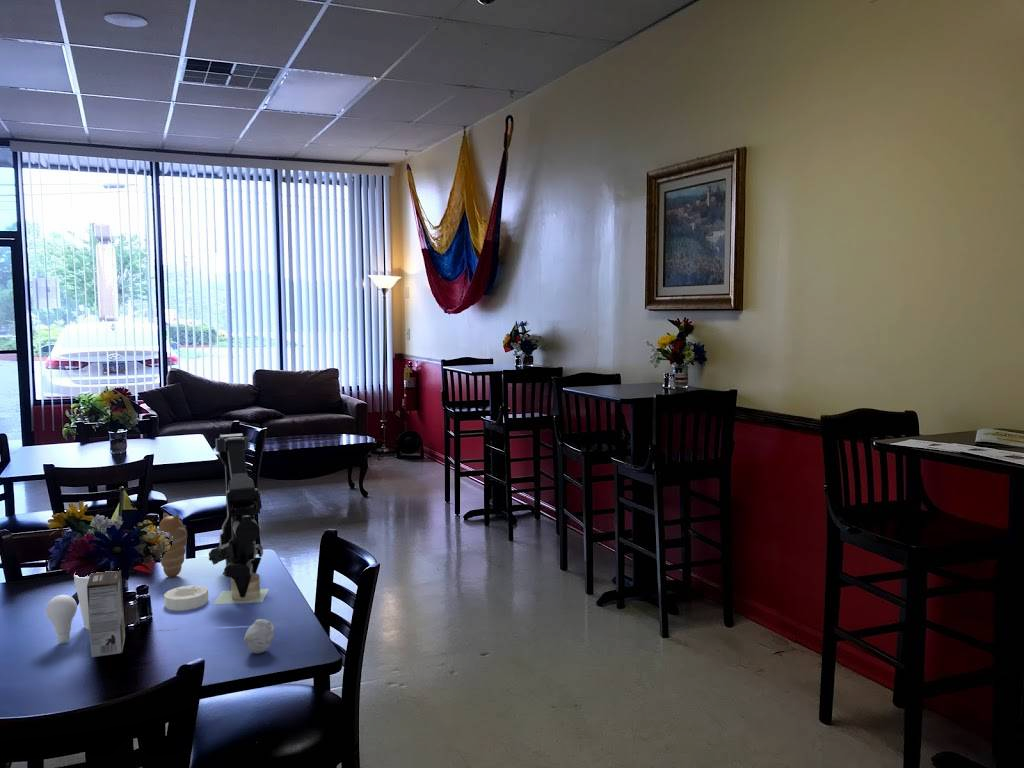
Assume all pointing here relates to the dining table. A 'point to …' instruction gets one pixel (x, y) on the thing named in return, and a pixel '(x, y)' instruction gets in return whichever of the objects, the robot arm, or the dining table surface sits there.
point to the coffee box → (105, 613)
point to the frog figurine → (259, 636)
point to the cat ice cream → (173, 545)
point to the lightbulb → (61, 615)
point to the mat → (227, 599)
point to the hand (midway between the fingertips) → (245, 592)
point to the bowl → (186, 597)
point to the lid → (251, 592)
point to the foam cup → (83, 597)
